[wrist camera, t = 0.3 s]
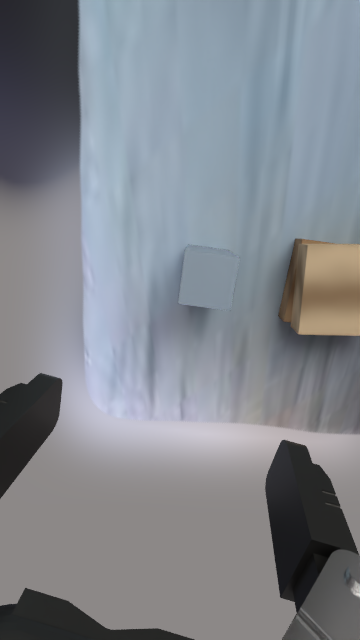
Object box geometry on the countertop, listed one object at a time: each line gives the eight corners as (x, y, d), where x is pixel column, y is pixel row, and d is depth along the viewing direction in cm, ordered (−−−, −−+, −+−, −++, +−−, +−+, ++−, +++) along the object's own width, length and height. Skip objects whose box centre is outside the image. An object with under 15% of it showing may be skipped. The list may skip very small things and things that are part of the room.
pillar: (188, 244, 37) (184, 250, 26) (227, 249, 37) (239, 257, 26) (183, 283, 38) (177, 303, 27) (221, 288, 38) (230, 311, 27)
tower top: (298, 243, 34) (307, 244, 31) (387, 244, 33) (405, 245, 30) (290, 326, 36) (298, 334, 33) (373, 328, 36) (388, 336, 33)
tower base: (294, 238, 37) (302, 239, 34) (373, 249, 36) (389, 251, 34) (277, 314, 39) (283, 321, 36) (351, 325, 39) (364, 333, 36)
